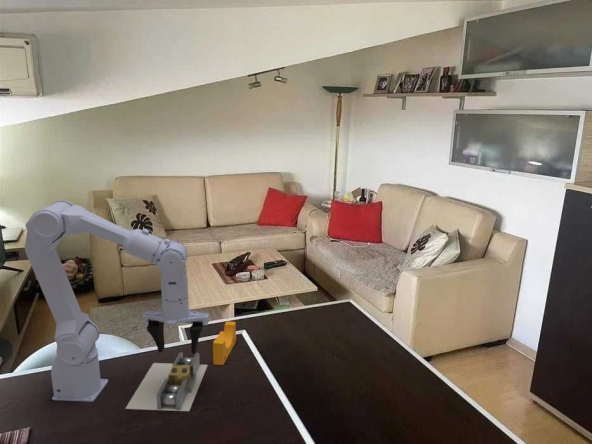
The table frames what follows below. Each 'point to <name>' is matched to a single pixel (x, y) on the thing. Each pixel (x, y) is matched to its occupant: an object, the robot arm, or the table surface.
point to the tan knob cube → (179, 375)
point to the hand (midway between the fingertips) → (178, 350)
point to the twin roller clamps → (178, 392)
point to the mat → (152, 384)
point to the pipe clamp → (224, 343)
